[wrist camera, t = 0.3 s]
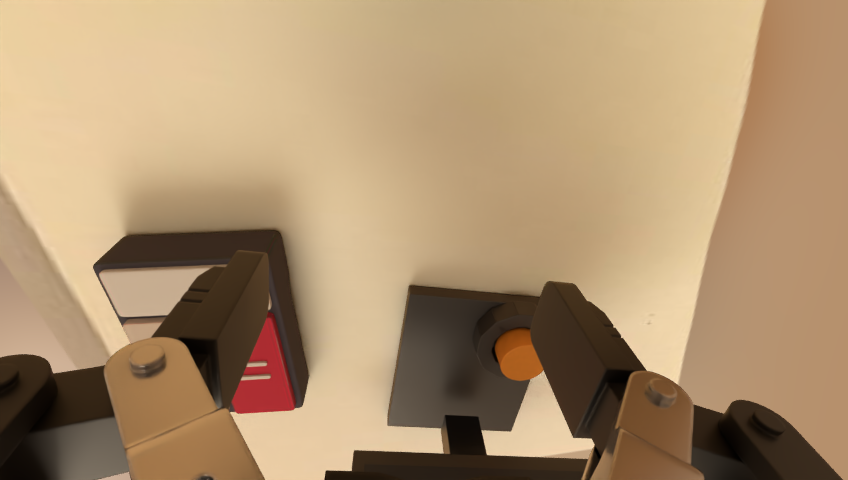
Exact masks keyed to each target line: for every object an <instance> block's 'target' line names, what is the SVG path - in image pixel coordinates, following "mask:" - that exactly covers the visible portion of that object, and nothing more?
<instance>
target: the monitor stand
mask: <svg viewBox="0 0 848 480" xmlns="http://www.w3.org/2000/svg"><path fill="white" fill-rule="evenodd" d="M441 435H442V443H443V451H444V454H465V455H487V454H486V449H485V445H484V440H483V436H482V431H481V426H480V422H479V417H478V416H460V415H445V416H444V420H443V424H442V428H441Z"/></svg>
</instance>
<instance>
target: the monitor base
mask: <svg viewBox="0 0 848 480" xmlns="http://www.w3.org/2000/svg"><path fill="white" fill-rule="evenodd" d="M539 299H540V297H529V296H518V295H507V294H496V293H485V292H474V291H463V290H452V289H441V288H430V287H419V286H409V289H408V295H407V301H406V308H405V314H404V320H403V326H402V332H401V338H400V344H399V350H398V356H397V362H396V368H395V374H394V380H393V386H392V392H391V398H390V404H389V410H388V426H403V427H425V428H442V424H443V420H444V416H445V415H460V416H478V417H479V422H480V426H481V430H490V431H511V430H512V427H513V425H514V422H515V419H516V417H517V414H518V411H519V409H520V406H521V403H522V400H523V398H524V395H525V392H526V390H527V387H528V384H529V382H530V379H528V380H523V381H517V380H512V379H509V378H508V377H506V376H505V375H504V374H503V373H502V371H501V368H500V365H499V362H498V359H497V355H496V352H495V344H496V341H497V340H498V338H499V337H500V336H501V335H502V334H503V333H505V332H506V331H508V330H511V329H514V328H527V329H531V323H532V320H533V317H534V314H535V311H536V308H537V305H538V302H539Z"/></svg>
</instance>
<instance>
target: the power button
mask: <svg viewBox="0 0 848 480" xmlns="http://www.w3.org/2000/svg"><path fill="white" fill-rule="evenodd" d="M495 352H496V355H497V359H498V362H499V365H500V368H501V371H502V373H503V374H504V375H505V376H506V377H508V378H509V379H512V380H517V381H523V380H528V379H531V378H534V377H536V376H537V375H539V374H540V373H541V372H542V371H543V367H542V365H541V363H540V361H539V358H538V356H537V354H536V351H535V349H534V347H533V345H532V342H531V336H530V329H527V328H514V329H511V330H508V331H506V332H505V333H503V334H502V335H501V336H500V337H499V338H498V340H497V341H496V344H495Z"/></svg>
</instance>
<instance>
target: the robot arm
mask: <svg viewBox="0 0 848 480" xmlns="http://www.w3.org/2000/svg"><path fill="white" fill-rule="evenodd" d="M268 307H269V261H268V255H267V253H263V252H253V251H243V250H237V251H236V252H235V254H234V255H233V257H232V258H231V260H230V261H229V263H228V264H227V266H226V267H218V266H214V267H212V268H210V269H209V270H207V271H205V272H204V273H202V274H200V275H199V276H197V278H196V279H195V280H194V282H193V283H192V284H191V286H190V287H189V288H188V291H186V292H185V293H184V295H183V296H182V297H181V299H180V301H178V303H177V304H176V305H175V306H174V308H173V309H172V310H171V312H170V313H169V314H168V316H167V317H166V318H165V320H164V321H163V322H162V323H161V325H160V326H159V327H158V329H157V330H156V331H155V333H154V334H153V335H152V337H151V338H147V339H143V340H139V341H136V342H134V343H131V344H129V345H127V346H125V347H123V348H122V349H120V350H119V351H117V352H116V353H115V354H114V355H112V356H111V357H110V359H109V360H108V361H107V363H106V365H104V366H99V367H94V368H87V369H81V370H74V371H68V372H62V373H55V374H53V372H52V369H51V366H50V364H49V362H48V361H47V360H46V359H44V358H42V357H40V356H36V355H27V354H24V355H23V354H21V355H11V356H5V357H1V358H0V480H98V479H102V478H105V477H110V476H114V475H118V474H122V473H126V472H129V474H130V477H131V480H265V479H264V477H263V475H262V473H261V471H260V469H259V467H258V465H257V463H256V461H255V459H254V458H253V456H252V454H251V452H250V450H249V448H248V446H247V444H246V442H245V440H244V438H243V436H242V435H241V433H240V431H239V429H238V427H237V425H236V423H235V421H234V419H233V417H232V415H231V414H230V412H229V411H228V409H229V407H230V404H231V402H232V400H233V397H234V395H235V393H236V390H237V388H238V385H239V383H240V381H241V378H242V376H243V374H244V371H245V369H246V366H247V364H248V362H249V359H250V357H251V355H252V352H253V350H254V347H255V345H256V343H257V340H258V338H259V336H260V333H261V331H262V329H263V326H264V324H265V321H266V318H267V314H268ZM530 336H531V342H532V345H533V347H534V349H535V351H536V354H537V356H538V358H539V361H540V363H541V365H542V367H543V370H544V372H545V374H546V377H547V379H548V381H549V383H550V386H551V388H552V390H553V392H554V395H555V397H556V399H557V402H558V404H559V406H560V408H561V411H562V413H563V415H564V418H565V420H566V422H567V424H568V427H569V429H570V431H571V434H572V436H573V438H592V440H593V442H594V444H595V445H594V447H593V449H592V451H591V453H590V455H589V458H588V461H587V465H586V468H585V471H584V474H583V477H582V480H843V479H842V478H841V477H840V476H839V475H838V474H837V473H836V472H835V471H834V470H833V469H832V468H831V467H830V466H829V464H828V463H827V462H826V461H825V460H824V459H823V458H822V457H821V456H820V455H819V454H818V453H817V452H816V451H815V449H814V448H813V447H812V446H811V445H810V444H809V443H808V442H807V441H806V440H805V439H804V438H803V437H802V436H801V434H799V432H798V431H797V430H796V429H795V428H794V427H793V426H792V425H791V424H790V423H789V422H787V421H786V420H785V419H784V418H782V417H781V416H780V415H778V414H777V413H775V412H773V411H772V410H770V409H768V408H766V407H764V406H762V405H759V404H757V403H754V402H750V401H745V400H736V401H734V402H732V403H731V404H730V406H729V407H728V409H727V410H726V412H725V413H724V414H723V413H719V412H716V411H713V410H710V409H706V408H703V407H700V406H697V405H693V403H692V400H691V399H690V397H689V396H688V395H687V393H686V392H685V391H684V390H683V389H682V388H681V387H680V386H678V385H677V384H676V383H674V382H673V381H671V380H670V379H668V378H666V377H664V376H662V375H660V374H657V373H654V372H650V371H647V370H646V369H645V368H644V366H643V365H642V364H641V362H640V361H639V359H638V358H637V357H636V355H635V354H634V353H633V351H632V350H631V349H630V347H629V346H628V344H627V343H626V342H625V340H624V339H623V338H621V335H620V334H619V332H618V331H617V329H616V328H613V324H612V323H611V321H610V320H609V319H608V317H607V316H606V314H605V313H604V312H603V311H601V310H600V309H599V308H598V307H596V306H595V305H594V304H592V303H591V302H589V301H587V300H586V299H585V298H584V296H583V295H582V293H581V292H580V290H579V289H578V288H577V286H576V285H575V284H573V283H563V282H553V281H548V282H547V283H546V284H545V286H544V288H543V290H542V293H541V296H540V299H539V302H538V305H537V308H536V311H535V314H534V317H533V320H532V323H531V329H530ZM325 480H404V479H400V478H397V477H394V476H390V475H387V474H383V473H380V472H357V471H326V473H325ZM466 480H531V478H530V477H515V476H484V475H482V476H478V477H474V478H470V479H466Z"/></svg>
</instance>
